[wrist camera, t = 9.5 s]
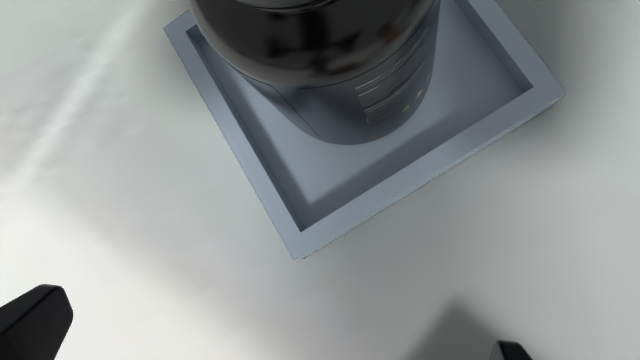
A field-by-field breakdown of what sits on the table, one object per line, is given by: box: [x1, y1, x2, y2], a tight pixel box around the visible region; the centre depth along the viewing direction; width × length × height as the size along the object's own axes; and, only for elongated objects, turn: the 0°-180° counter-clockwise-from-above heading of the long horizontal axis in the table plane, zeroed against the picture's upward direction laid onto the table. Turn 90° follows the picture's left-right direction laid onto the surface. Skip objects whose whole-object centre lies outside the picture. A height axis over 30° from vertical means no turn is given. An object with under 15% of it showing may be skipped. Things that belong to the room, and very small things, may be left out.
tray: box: [163, 0, 566, 260], centre depth 19 cm, size 12×12×2 cm
